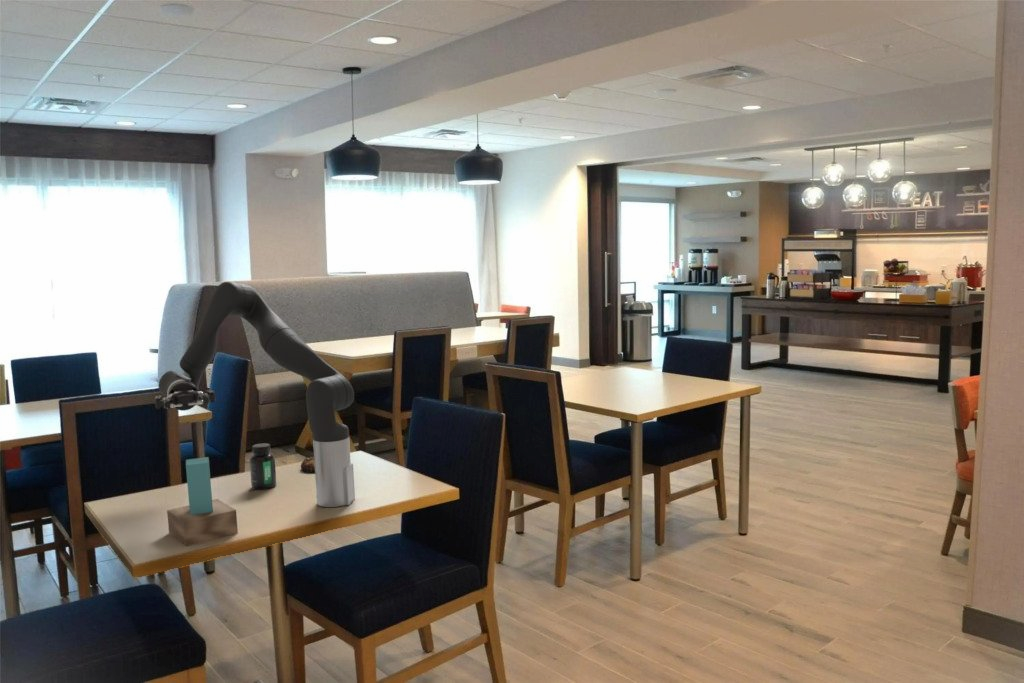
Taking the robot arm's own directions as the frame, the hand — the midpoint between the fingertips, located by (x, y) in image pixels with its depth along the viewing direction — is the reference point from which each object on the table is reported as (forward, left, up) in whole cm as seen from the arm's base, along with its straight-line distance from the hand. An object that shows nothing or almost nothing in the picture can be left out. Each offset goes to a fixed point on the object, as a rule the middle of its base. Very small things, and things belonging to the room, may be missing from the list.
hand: (187, 402), depth 201 cm
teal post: (-8, +13, -23) cm, 28 cm away
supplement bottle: (-8, -25, -29) cm, 39 cm away
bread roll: (-18, -44, -30) cm, 56 cm away
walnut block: (-8, +13, -30) cm, 33 cm away
